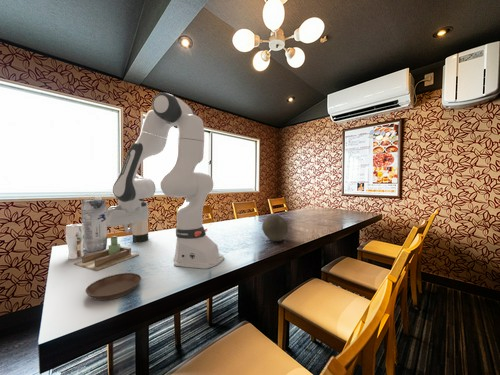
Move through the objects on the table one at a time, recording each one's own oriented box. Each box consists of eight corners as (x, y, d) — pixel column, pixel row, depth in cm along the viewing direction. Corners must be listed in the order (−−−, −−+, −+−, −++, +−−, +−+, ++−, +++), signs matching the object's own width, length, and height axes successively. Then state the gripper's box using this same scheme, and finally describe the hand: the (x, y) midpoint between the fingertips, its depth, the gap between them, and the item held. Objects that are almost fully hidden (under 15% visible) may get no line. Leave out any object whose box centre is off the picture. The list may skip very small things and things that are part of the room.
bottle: (122, 254, 94) (121, 235, 94) (112, 258, 90) (111, 238, 90) (116, 253, 96) (116, 235, 96) (106, 256, 92) (105, 237, 92)
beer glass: (89, 255, 96) (88, 224, 95) (72, 260, 89) (71, 227, 89) (80, 253, 98) (78, 223, 98) (62, 258, 92) (61, 226, 91)
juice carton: (87, 253, 98) (85, 198, 97) (81, 249, 104) (79, 197, 103) (109, 248, 105) (107, 197, 104) (101, 245, 111) (100, 196, 110)
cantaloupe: (272, 236, 125) (272, 212, 125) (292, 241, 116) (292, 215, 115) (257, 241, 115) (257, 215, 115) (277, 247, 106) (277, 218, 105)
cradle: (138, 255, 95) (138, 247, 95) (96, 270, 79) (96, 261, 79) (117, 250, 102) (116, 243, 102) (74, 264, 85) (74, 255, 85)
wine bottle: (151, 238, 123) (150, 189, 122) (142, 242, 115) (141, 190, 114) (138, 238, 124) (137, 189, 123) (129, 242, 116) (127, 190, 115)
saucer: (134, 275, 75) (134, 268, 75) (147, 291, 64) (146, 283, 64) (83, 290, 65) (83, 282, 65) (88, 312, 54) (87, 302, 54)
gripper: (110, 207, 88) (111, 238, 89) (150, 202, 107) (150, 228, 108) (101, 206, 91) (102, 236, 92) (142, 201, 110) (142, 226, 110)
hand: (129, 232), depth 100 cm, fingers closed
